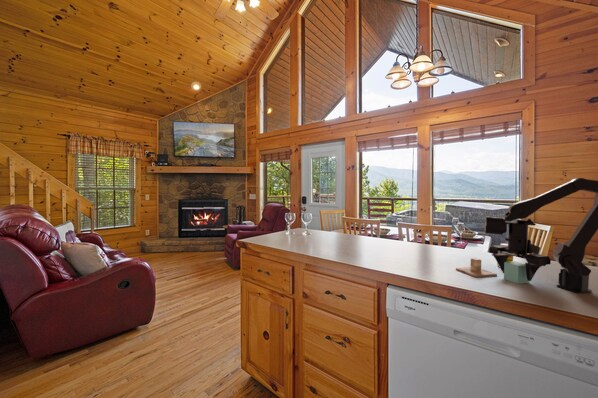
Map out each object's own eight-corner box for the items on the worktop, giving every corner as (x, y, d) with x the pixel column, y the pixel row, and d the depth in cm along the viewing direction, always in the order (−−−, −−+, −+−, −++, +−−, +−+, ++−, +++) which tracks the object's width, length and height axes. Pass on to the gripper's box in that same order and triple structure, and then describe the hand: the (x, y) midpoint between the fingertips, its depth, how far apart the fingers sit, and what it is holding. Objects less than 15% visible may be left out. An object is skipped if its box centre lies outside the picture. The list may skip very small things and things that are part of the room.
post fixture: (496, 275, 105) (497, 261, 105) (476, 277, 103) (476, 263, 103) (475, 268, 115) (475, 255, 115) (455, 269, 113) (456, 256, 113)
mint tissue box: (528, 282, 98) (529, 265, 98) (517, 283, 97) (518, 265, 96) (514, 277, 103) (515, 261, 103) (503, 278, 102) (504, 262, 101)
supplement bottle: (498, 267, 116) (499, 244, 116) (496, 264, 121) (496, 242, 121) (514, 269, 113) (515, 246, 113) (511, 266, 118) (512, 243, 118)
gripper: (563, 240, 92) (561, 284, 92) (510, 231, 110) (508, 268, 111) (538, 241, 89) (537, 286, 90) (488, 232, 108) (487, 269, 108)
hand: (516, 276), depth 100 cm, fingers open, 9 cm apart
